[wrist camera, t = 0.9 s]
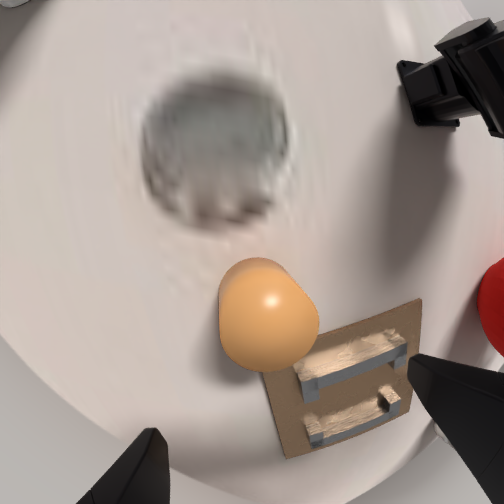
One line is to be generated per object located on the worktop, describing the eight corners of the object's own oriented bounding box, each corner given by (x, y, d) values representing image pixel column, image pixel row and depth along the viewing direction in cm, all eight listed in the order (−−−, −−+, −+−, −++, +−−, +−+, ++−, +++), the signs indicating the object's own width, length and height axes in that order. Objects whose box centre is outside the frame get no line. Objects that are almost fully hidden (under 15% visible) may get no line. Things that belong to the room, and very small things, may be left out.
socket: (419, 298, 23) (431, 305, 21) (406, 409, 27) (414, 418, 25) (257, 352, 22) (260, 365, 20) (285, 456, 25) (288, 468, 24)
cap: (285, 249, 20) (312, 271, 15) (297, 317, 22) (323, 356, 16) (210, 267, 20) (207, 298, 14) (228, 334, 21) (233, 381, 15)
